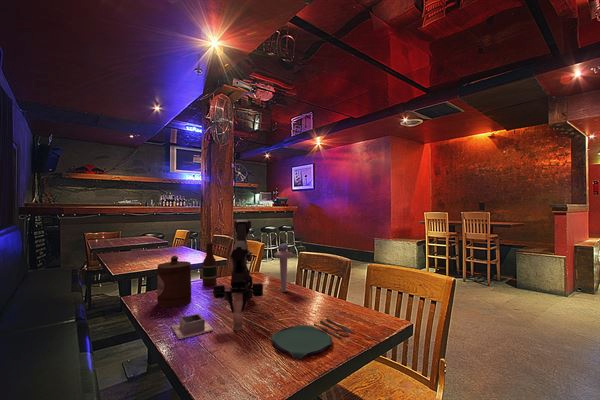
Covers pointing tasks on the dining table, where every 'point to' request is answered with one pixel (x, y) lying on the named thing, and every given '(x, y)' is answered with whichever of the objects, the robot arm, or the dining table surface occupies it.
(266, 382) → the dining table surface
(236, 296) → the wooden post
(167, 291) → the wooden container
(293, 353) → the cutlery set
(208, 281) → the beer bottle
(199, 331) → the cup bracket
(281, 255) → the novelty light stick
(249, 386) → the dining table surface
